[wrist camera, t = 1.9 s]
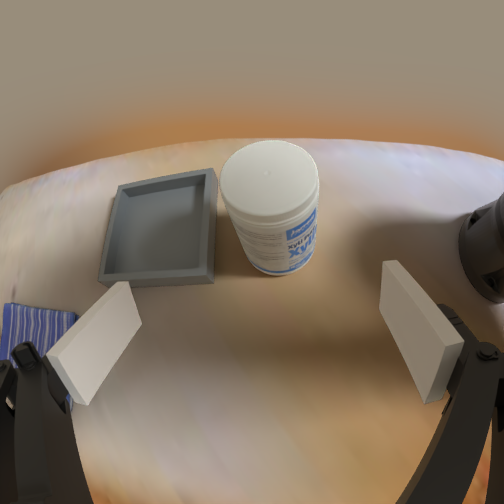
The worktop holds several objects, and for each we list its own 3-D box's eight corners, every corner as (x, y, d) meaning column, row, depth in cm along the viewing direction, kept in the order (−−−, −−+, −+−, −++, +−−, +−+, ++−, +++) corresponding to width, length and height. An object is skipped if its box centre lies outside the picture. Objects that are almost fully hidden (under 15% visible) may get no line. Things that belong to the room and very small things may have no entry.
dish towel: (12, 303, 44) (3, 299, 41) (83, 313, 40) (72, 308, 37) (3, 380, 37) (-6, 378, 34) (75, 414, 33) (63, 414, 30)
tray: (218, 180, 45) (212, 167, 42) (213, 283, 38) (206, 275, 35) (127, 196, 47) (118, 185, 44) (110, 288, 40) (97, 281, 37)
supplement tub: (306, 284, 36) (309, 228, 23) (236, 269, 38) (201, 210, 25) (320, 219, 39) (326, 143, 26) (255, 208, 42) (235, 134, 28)
